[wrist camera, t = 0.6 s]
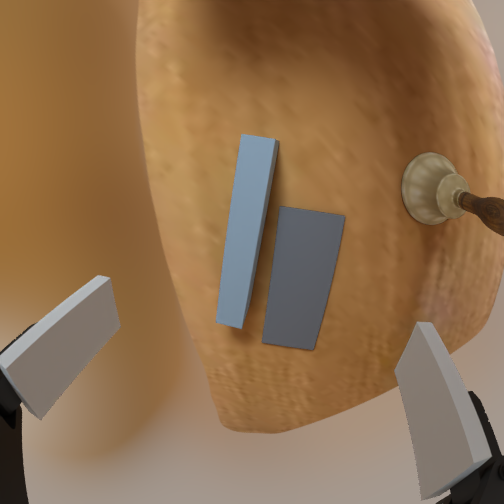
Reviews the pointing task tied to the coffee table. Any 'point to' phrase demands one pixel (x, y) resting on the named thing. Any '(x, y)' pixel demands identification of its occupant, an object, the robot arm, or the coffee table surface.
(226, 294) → the stick
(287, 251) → the mat
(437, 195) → the hand bell
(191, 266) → the coffee table surface
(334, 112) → the coffee table surface
